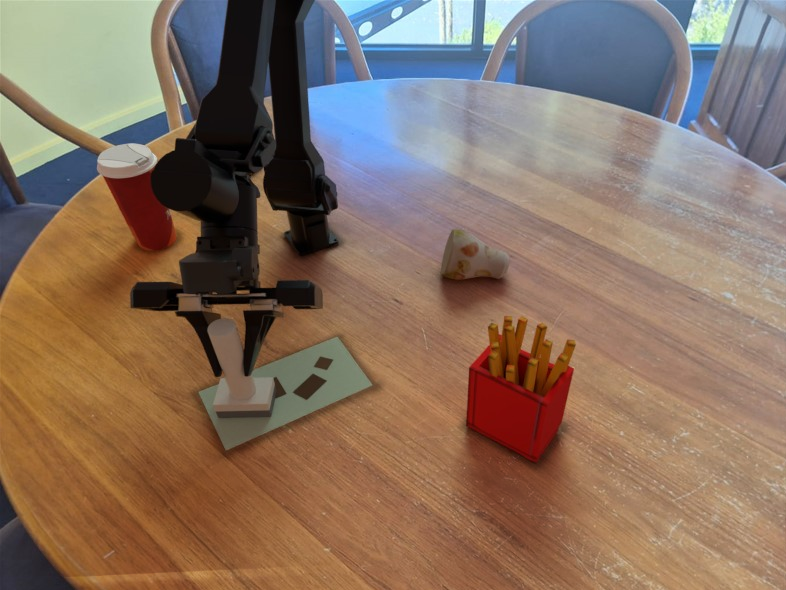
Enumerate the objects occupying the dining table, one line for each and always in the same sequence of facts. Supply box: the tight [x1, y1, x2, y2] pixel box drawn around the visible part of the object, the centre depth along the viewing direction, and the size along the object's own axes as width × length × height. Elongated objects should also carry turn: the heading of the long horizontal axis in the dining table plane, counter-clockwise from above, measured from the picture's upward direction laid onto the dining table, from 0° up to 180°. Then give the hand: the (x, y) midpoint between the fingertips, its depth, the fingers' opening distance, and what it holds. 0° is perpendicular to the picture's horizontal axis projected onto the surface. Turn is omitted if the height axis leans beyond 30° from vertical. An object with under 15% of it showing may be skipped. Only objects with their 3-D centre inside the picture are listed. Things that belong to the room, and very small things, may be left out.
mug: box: [440, 228, 511, 281], centre depth 89 cm, size 8×10×10 cm
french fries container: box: [465, 315, 577, 464], centre depth 67 cm, size 7×9×14 cm
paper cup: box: [96, 142, 178, 252], centre depth 90 cm, size 8×8×14 cm
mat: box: [198, 336, 373, 451], centre depth 74 cm, size 10×18×1 cm, turn 124°
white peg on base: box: [207, 317, 277, 418], centre depth 68 cm, size 6×4×12 cm, turn 93°
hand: (232, 376), depth 67 cm, fingers closed on white peg on base, 3 cm apart
